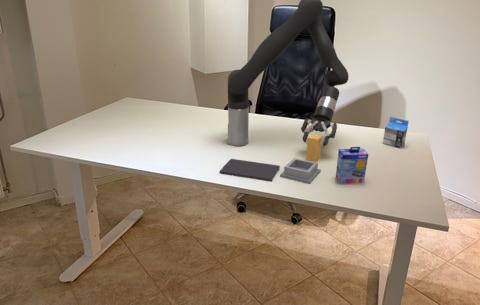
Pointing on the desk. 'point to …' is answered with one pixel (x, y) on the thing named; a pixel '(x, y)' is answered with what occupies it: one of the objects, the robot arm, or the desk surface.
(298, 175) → the square socket
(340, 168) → the ink cartridge box
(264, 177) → the notebook
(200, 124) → the desk surface
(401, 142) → the blue grey product box
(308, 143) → the orange cap block
